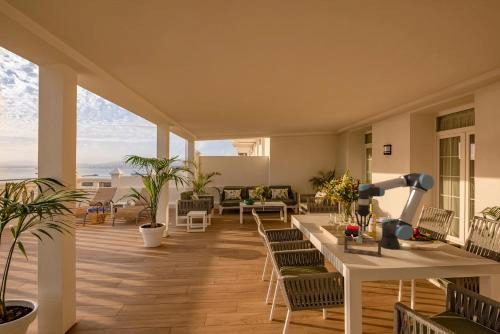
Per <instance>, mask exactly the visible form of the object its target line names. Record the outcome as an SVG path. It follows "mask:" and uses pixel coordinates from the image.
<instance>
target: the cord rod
mask: <svg viewBox="0 0 500 334" xmlns="http://www.w3.org/2000/svg"><path fill="white" fill-rule="evenodd" d="M356 239H357V238H354V242H355V241H356ZM347 240H348V242H350V243H351V242H353V237H352V236H348V238H347ZM362 242H365V243H366V242H367V243H374V244H375V243H376V244H378V240H373V239H365V238H364V239H363V238H362Z"/></svg>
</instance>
